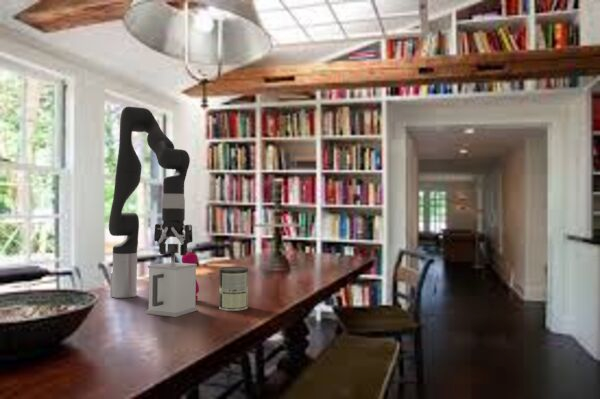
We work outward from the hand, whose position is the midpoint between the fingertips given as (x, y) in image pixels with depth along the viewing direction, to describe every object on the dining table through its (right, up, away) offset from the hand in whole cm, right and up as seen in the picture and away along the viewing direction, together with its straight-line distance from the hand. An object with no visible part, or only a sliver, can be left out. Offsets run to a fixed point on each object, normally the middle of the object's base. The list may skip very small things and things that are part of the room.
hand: (173, 254), depth 175 cm
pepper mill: (+1, -20, +20) cm, 28 cm away
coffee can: (+20, -20, +7) cm, 29 cm away
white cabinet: (-1, -19, -2) cm, 19 cm away
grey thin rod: (0, -18, 0) cm, 18 cm away
